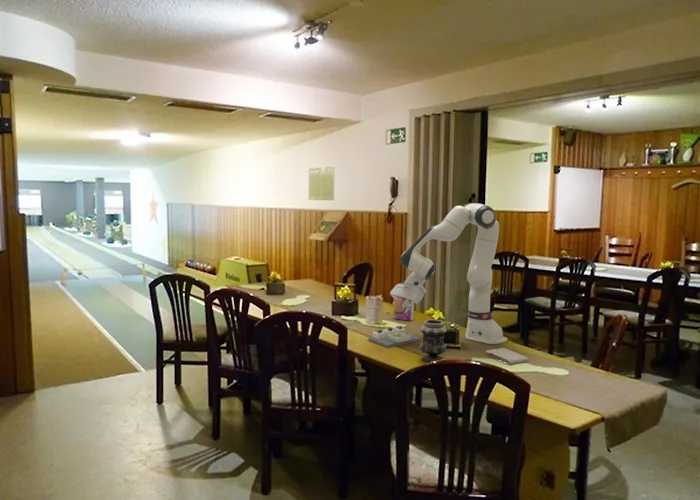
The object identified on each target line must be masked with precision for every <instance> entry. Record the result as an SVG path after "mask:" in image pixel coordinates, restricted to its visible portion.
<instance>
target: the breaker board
mask: <svg viewBox="0 0 700 500" xmlns="http://www.w3.org/2000/svg"><path fill="white" fill-rule="evenodd" d="M367 338H368V339H367V340H368V341H369V342H371V343H374V344H377V345H378V346H382V347H384V348H387V349H388V348H389V349H390V348H394V347H397V346H402V345H403V346H404V345H407V344H411V343H416V342H417V343H418V342H420V341H421V337H419V336H416V335H413V334H410V333H407V332H406V328H403V326H402V325H398V326H395V327H393V328H392V327H386V328H385V329H383V330H382V329H376V330H374V331H372V336H369V337H367Z"/></svg>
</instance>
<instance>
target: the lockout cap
mask: <svg viewBox="0 0 700 500" xmlns="http://www.w3.org/2000/svg"><path fill="white" fill-rule="evenodd" d="M393 302H394V305H393V316H394V317H403V316H404V308H402V307H401V304H402V303H404V298H393Z"/></svg>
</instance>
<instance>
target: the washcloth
mask: <svg viewBox="0 0 700 500" xmlns="http://www.w3.org/2000/svg"><path fill="white" fill-rule="evenodd" d="M484 354H485V355H486V356H487V355H488V356H487V357H489V356H490V357H489V358H490V359H491V358H492V359H493V358H494V360H496V359H497V360H496V361H498V360H501V361H503V362H506V363H508V364H512V365H516V364H524V363H528V362H529V358H528V357H527V356H525V355H522V354H521V353H519V352H518V353H517V352H516V351H513V350H510V349H508V348H506V347H500V348H492V349H487V350H485V352H484ZM503 362H502V363H503ZM515 363H516V364H515Z"/></svg>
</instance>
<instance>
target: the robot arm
mask: <svg viewBox="0 0 700 500" xmlns="http://www.w3.org/2000/svg"><path fill="white" fill-rule="evenodd" d="M469 224H471V225H473V226H476V227H477V232H476V237H475V243H474V247H473V252H472V255H471V259H470V263H469V266H468V271H467V274H466V279H467V282H468V284H470V286H469V287H470V288H469V294H468V310H467V324H466V326H467V327H466V329H465V334H464V336H465V339H466V340H470V341H475V342H478V343H483V344H488V345H498V344H502V343H505V342H507V341H508V337H505V336H504V332H503V329H502V327H501V326H500V325H499V324H498V323H497V322H496V321H495V320H494V319H493V317H494V316H495V314H494V313H492V312H491V310H490V309H491V291H492V286H493V284H492V282H493V269H492V266H493V262H494V259H495V256H496V251H497V245H498V240H499V233H500V224H499V222H498V220H497V219H496V212H495V210H494V209H493V208H492V207H491V206H489V205H486V204H482V203H475V202H468V203H466V204H463V205H455V206H454V207H453V208H452V209H451V210H450V211H449V212H448V213H447V214H446V216H445V217H444V219H443V220H442V221H441V222H440V223H439V224H436V225H432V226H429V228H428V229H427V230H425V232H423V233H422V235H421V236H419V238H417V240H415V242H414V243H412V245H411V246H410V247H409V248H408V249H406V250H405V251H404V252H402V254H401V256H400V258H399V261H400V264H401V266H402V267H404V268H406V269H408V270H409V271H411V273H410V274H409V275H408V276H407V278H406V279H405V280H404V282H400V283H397V284H396V285H395V286H394V287H393V288H392V289H391V290H390V292H389V295H390V296H391V297H392V298H393V299H394V298H404V301H405V302H404V303H402V304H401V307H402V308H404V307H405V306H406V305H408V304H409V303H410V302H412V303H414V304H417V305H418V304H419V303H420V302H421V301H422V299H423V297H424V295H425V294H426V293H427V290H426V288H425V286H424V283H425V282H426V281H430V280H431V279H432V276H433V275H434V274H435V272H436V271H437V269H436V265H435V263H434V262H433V261H432V260H431V259H430V258H428V257H425V256H423V255H421V254H420V253H419V251H420V249H421V248H422V247H423V246H424V245H425V244H426V243H427V242H428V241H430V240H438V241H442V242H453V241H456V240H457V238H458V237H459V236H460V235H461V233H462V232H463V231H464V228H465V227H466V226H467V225H469ZM392 305H393V306H394V301H392Z"/></svg>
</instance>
